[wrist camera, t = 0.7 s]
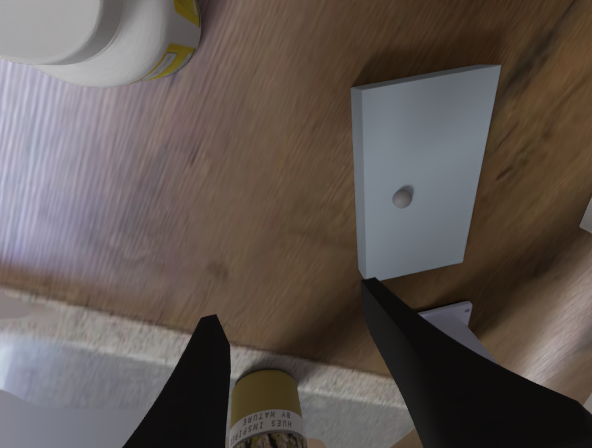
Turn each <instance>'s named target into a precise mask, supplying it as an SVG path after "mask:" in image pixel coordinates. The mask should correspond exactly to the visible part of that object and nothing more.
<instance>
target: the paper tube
mask: <svg viewBox="0 0 592 448" xmlns="http://www.w3.org/2000/svg"><path fill="white" fill-rule="evenodd" d="M229 448H307V443H306V437H305V431H304V425H303V420H302V414H301V408H300V402H299V396H298V390H297V385H296V382H295V380H294V379H293V378H292V377H291V376H290V375H289V374H287V373H285V372H283V371H279V370H260V371H256V372H253V373H251V374H249V375H247V376H245V377H243V378H242V379H241V380H240V381H239V382H238V383H237V384H236V386H235V387H234V389H233V391H232V398H231V425H230V444H229Z"/></svg>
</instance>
